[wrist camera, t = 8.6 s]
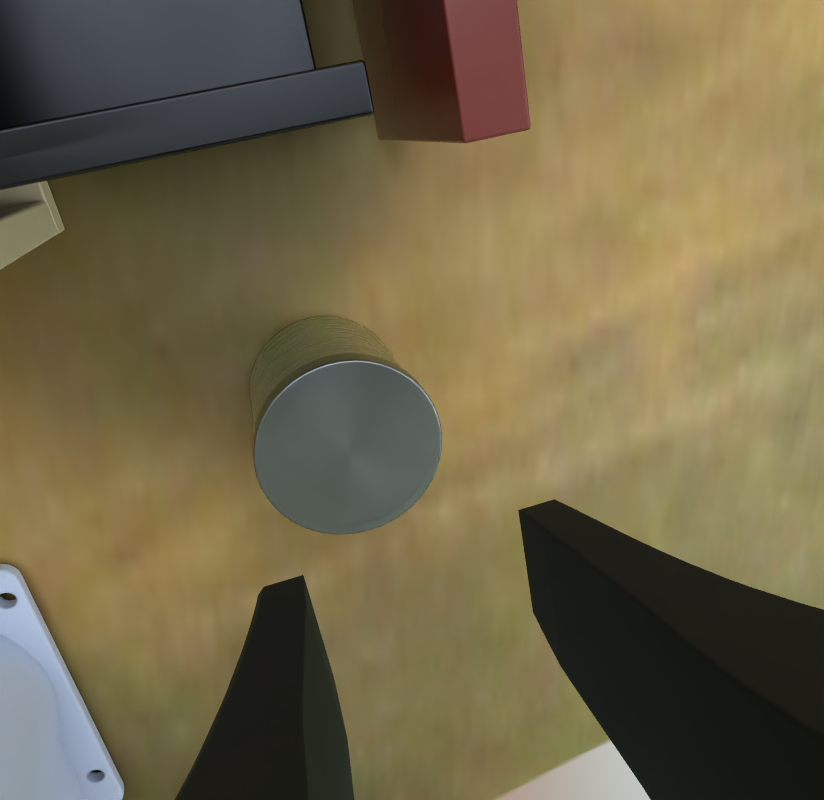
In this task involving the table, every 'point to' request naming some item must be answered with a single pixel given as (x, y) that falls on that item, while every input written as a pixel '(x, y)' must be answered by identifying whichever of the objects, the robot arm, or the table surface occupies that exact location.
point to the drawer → (241, 77)
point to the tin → (340, 428)
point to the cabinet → (26, 220)
